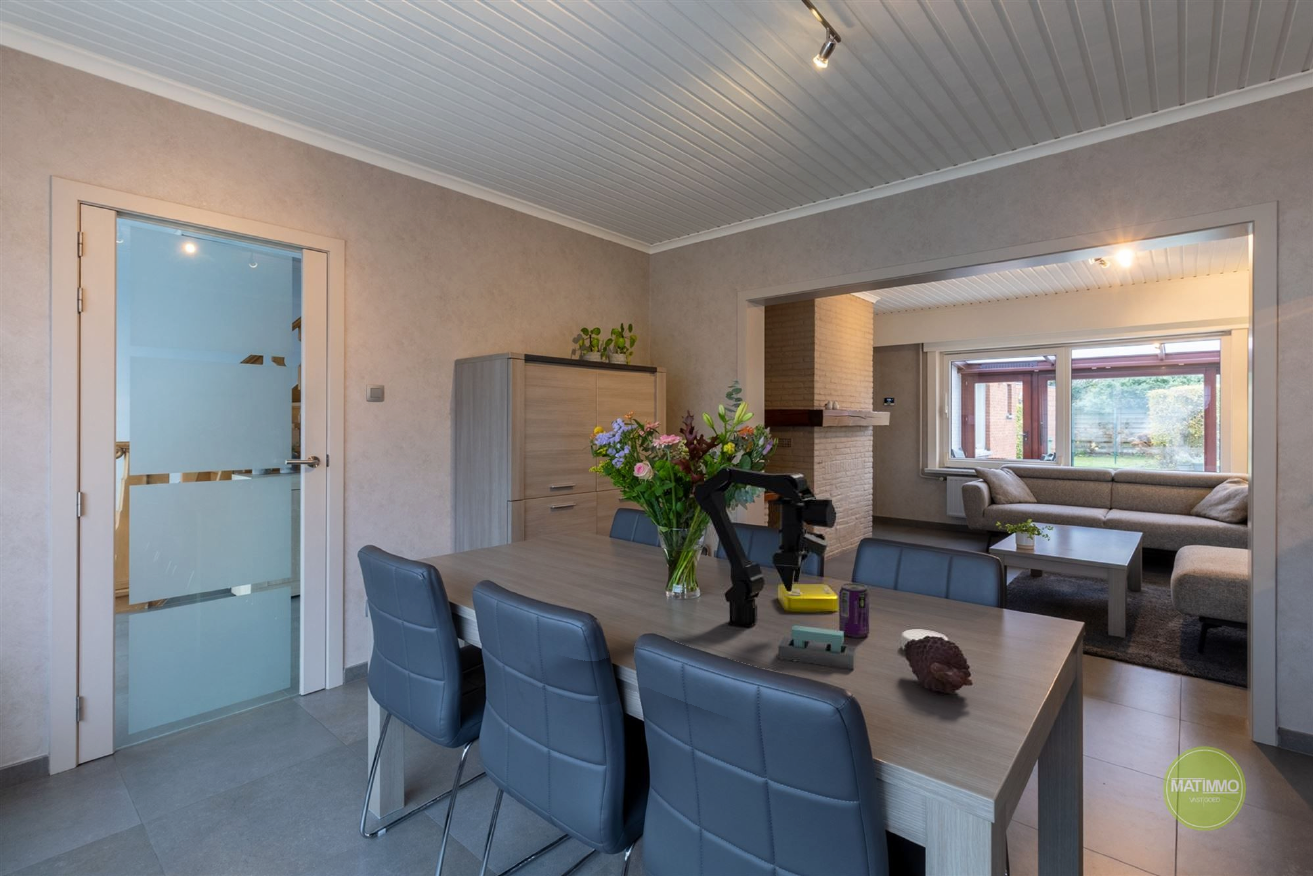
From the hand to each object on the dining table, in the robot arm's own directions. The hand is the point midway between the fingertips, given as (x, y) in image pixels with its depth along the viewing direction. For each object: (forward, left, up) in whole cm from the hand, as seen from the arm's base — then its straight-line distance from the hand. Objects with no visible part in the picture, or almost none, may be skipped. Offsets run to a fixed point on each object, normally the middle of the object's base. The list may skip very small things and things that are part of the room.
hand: (792, 586), depth 150 cm
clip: (+8, -14, -12) cm, 20 cm away
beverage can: (+14, +6, -12) cm, 20 cm away
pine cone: (+32, -20, -12) cm, 40 cm away
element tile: (-1, +28, -13) cm, 30 cm away
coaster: (+30, +1, -12) cm, 33 cm away
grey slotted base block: (+8, -14, -12) cm, 20 cm away
